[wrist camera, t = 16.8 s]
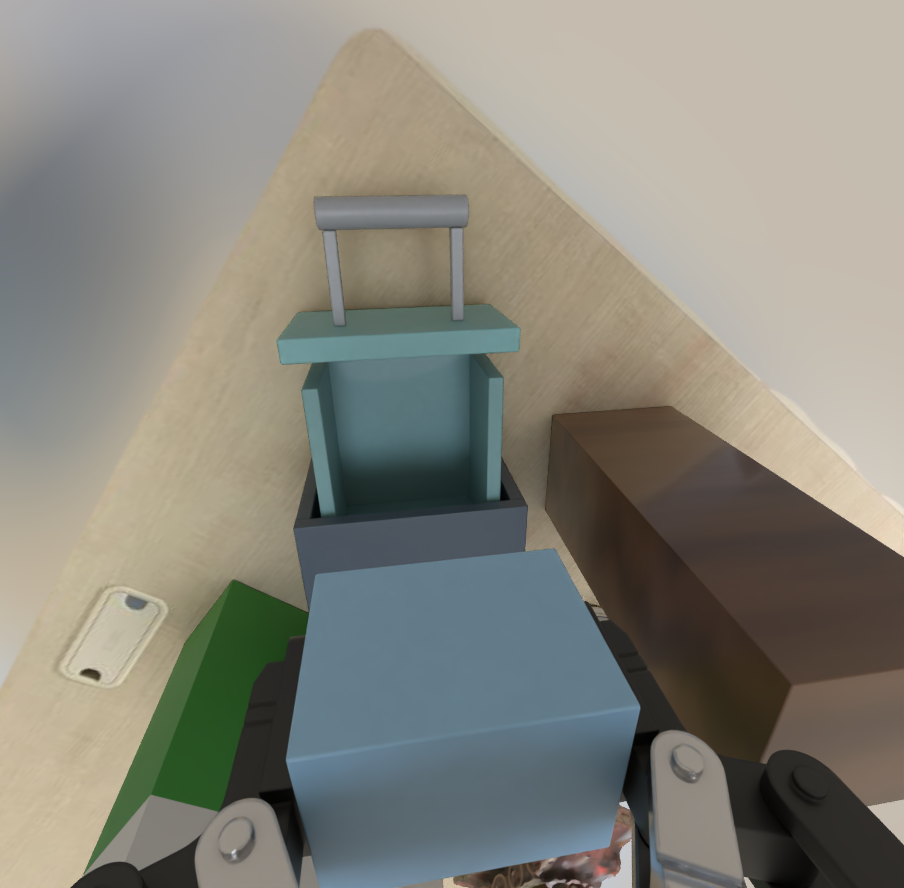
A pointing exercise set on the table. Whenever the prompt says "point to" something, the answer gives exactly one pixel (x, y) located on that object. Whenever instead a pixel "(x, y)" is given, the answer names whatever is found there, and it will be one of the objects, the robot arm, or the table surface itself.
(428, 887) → the hardback book
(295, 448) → the table surface
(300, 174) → the table surface
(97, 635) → the table surface
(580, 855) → the decorative box
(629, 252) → the table surface
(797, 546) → the wooden stand
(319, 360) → the drawer
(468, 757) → the blue rectangular block
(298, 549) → the cabinet
